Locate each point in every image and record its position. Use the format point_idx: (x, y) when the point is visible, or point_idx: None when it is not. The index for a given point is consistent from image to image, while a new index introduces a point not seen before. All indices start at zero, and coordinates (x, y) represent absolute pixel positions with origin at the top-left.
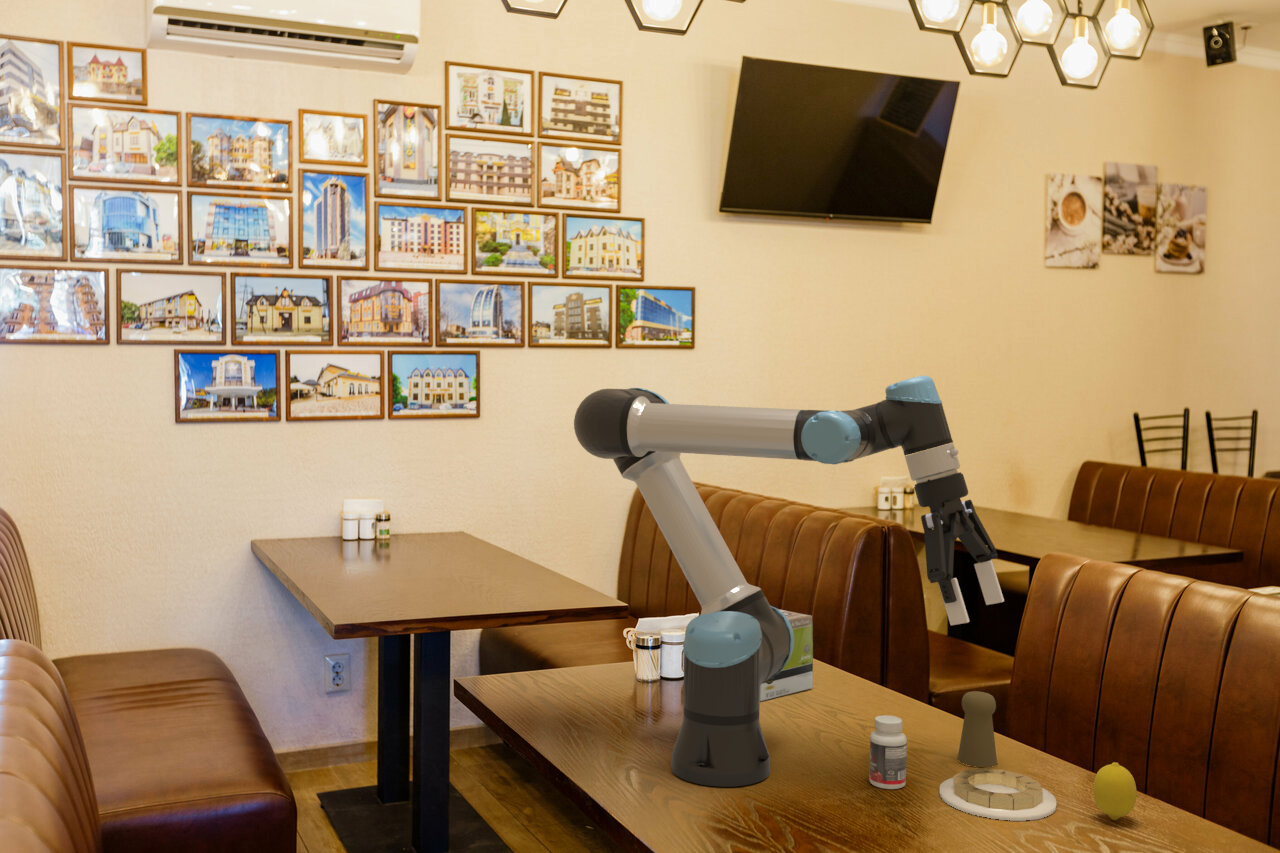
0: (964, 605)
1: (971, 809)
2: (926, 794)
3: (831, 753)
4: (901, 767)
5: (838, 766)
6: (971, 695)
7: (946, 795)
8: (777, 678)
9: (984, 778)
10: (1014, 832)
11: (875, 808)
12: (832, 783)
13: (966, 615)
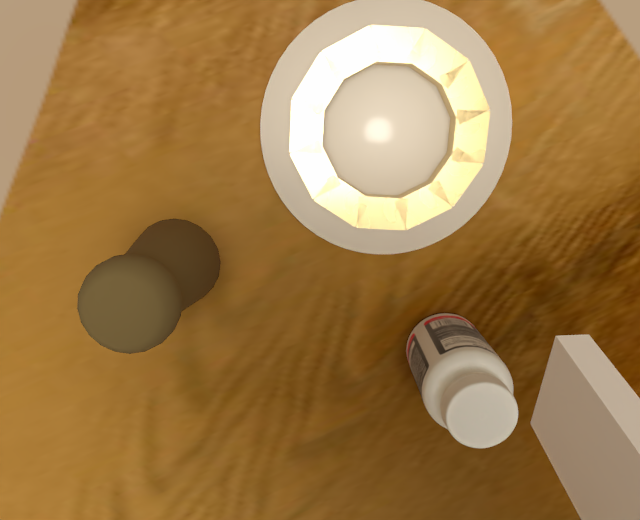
0: (622, 417)
1: (509, 139)
2: (450, 260)
3: (346, 508)
4: (468, 328)
5: (410, 463)
6: (151, 324)
7: (465, 214)
8: None
9: (343, 180)
10: (548, 26)
11: (589, 303)
12: None
13: (600, 364)
